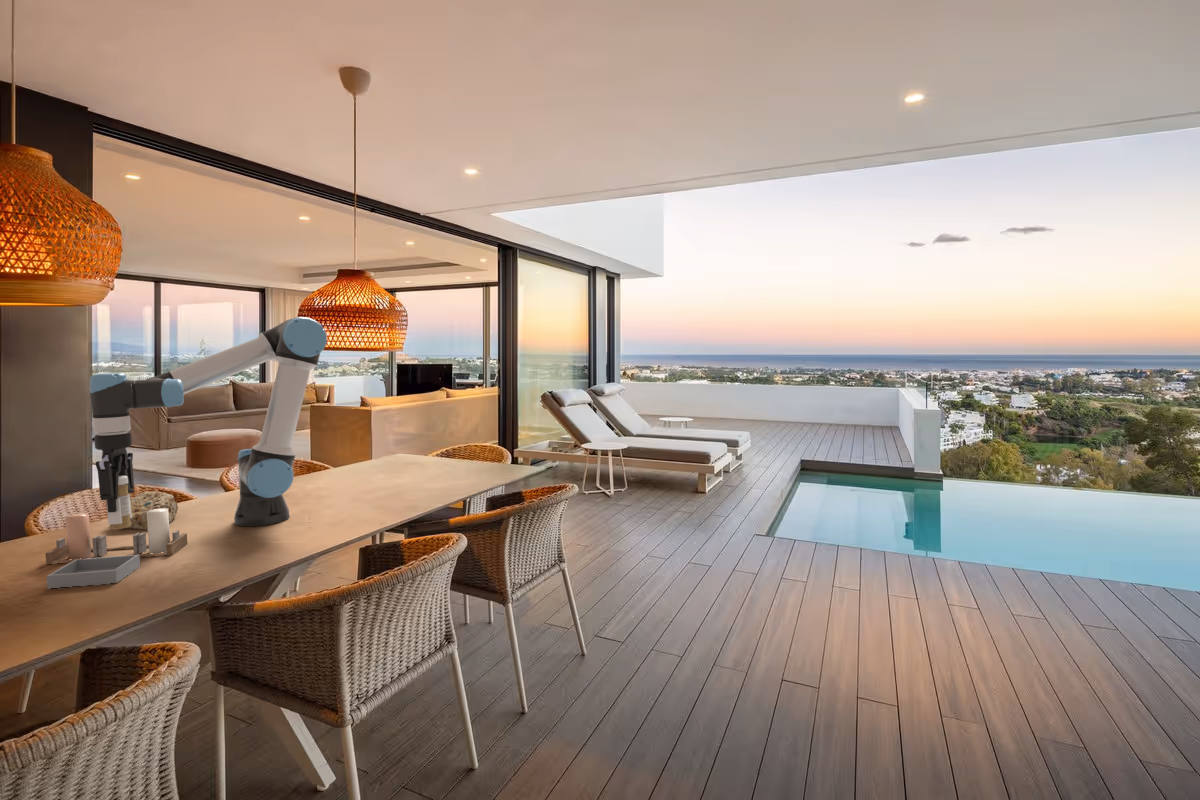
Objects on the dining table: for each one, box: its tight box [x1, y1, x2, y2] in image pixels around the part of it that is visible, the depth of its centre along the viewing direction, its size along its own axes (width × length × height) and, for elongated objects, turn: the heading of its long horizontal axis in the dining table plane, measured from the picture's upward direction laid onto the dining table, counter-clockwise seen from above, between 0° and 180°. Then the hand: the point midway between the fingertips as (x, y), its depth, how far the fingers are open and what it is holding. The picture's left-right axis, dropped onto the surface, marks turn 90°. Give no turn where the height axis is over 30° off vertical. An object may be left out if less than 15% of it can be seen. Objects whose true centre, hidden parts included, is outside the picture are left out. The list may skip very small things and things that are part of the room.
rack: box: [45, 529, 188, 565], centre depth 158 cm, size 27×10×5 cm, turn 105°
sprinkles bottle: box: [109, 476, 131, 530], centre depth 157 cm, size 5×5×13 cm
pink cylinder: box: [64, 512, 93, 560], centre depth 155 cm, size 5×5×11 cm
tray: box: [46, 554, 141, 590], centre depth 141 cm, size 13×11×3 cm
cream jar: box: [147, 508, 171, 554], centre depth 160 cm, size 5×5×11 cm
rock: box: [127, 490, 179, 530], centre depth 188 cm, size 21×14×10 cm
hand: (120, 520), depth 158 cm, fingers closed on sprinkles bottle, 4 cm apart
